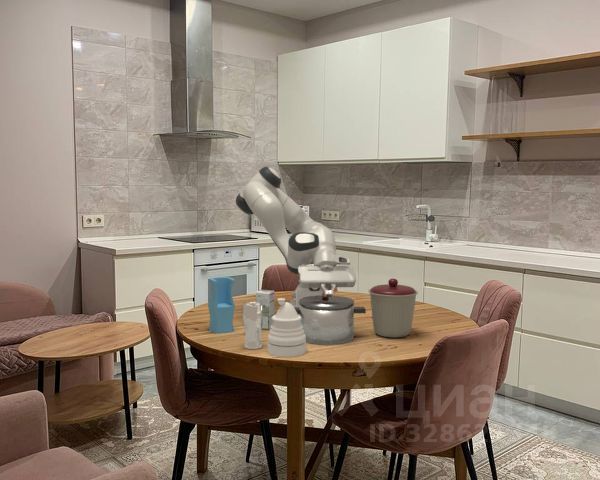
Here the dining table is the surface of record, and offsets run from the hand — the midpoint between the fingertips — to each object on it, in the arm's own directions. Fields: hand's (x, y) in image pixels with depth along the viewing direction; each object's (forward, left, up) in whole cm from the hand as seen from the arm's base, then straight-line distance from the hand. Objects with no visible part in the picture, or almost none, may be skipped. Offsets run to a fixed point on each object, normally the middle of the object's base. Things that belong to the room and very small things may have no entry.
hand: (328, 296), depth 208 cm
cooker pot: (-6, +1, -17) cm, 18 cm away
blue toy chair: (-25, -35, -17) cm, 46 cm away
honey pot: (+8, -17, -17) cm, 25 cm away
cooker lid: (-6, +1, -4) cm, 8 cm away
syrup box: (-25, -18, -17) cm, 35 cm away
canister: (-4, +26, -17) cm, 31 cm away
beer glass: (0, -27, -17) cm, 32 cm away
